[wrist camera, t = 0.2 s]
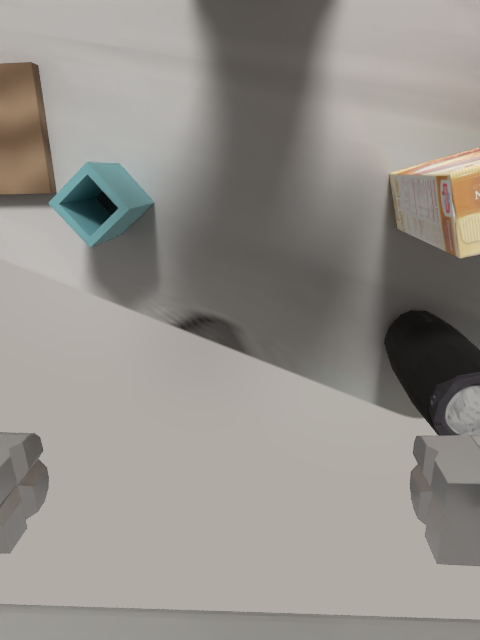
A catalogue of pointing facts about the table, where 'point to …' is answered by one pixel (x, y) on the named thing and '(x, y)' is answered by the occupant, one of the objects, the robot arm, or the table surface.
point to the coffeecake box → (441, 202)
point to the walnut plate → (23, 132)
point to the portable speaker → (437, 371)
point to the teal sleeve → (87, 211)
